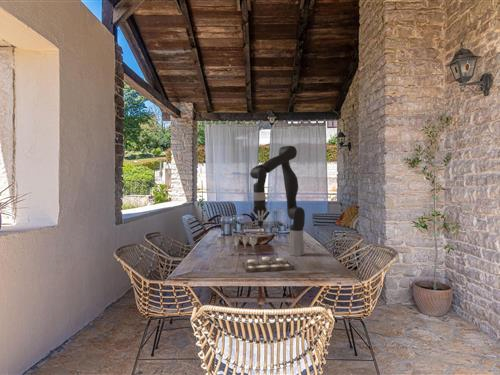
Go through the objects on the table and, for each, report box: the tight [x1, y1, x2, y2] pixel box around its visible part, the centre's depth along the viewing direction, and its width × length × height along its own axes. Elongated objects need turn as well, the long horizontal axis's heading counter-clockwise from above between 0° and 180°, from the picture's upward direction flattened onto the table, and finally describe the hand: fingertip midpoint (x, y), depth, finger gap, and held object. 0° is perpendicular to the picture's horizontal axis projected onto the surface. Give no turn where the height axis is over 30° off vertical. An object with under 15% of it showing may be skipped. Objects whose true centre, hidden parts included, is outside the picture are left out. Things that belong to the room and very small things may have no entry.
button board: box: [241, 257, 294, 273], centre depth 227 cm, size 28×16×4 cm, turn 101°
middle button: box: [261, 256, 271, 261], centre depth 229 cm, size 5×5×2 cm
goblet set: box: [216, 234, 258, 256], centre depth 263 cm, size 28×6×13 cm, turn 92°
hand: (260, 226), depth 237 cm, fingers closed
